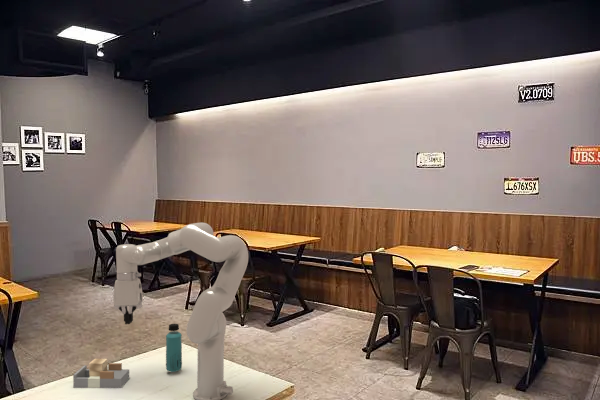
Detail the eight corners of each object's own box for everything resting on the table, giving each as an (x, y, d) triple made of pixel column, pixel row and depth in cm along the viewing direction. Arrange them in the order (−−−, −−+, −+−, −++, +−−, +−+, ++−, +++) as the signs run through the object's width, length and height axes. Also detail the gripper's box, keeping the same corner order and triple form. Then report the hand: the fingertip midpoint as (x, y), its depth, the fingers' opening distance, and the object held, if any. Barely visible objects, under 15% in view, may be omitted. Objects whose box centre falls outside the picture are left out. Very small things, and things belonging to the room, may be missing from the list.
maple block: (107, 371, 183) (107, 358, 183) (102, 376, 178) (102, 363, 178) (95, 371, 183) (94, 358, 183) (89, 376, 178) (89, 363, 178)
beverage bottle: (177, 376, 188) (177, 327, 187) (162, 374, 189) (162, 326, 189) (184, 369, 194) (184, 322, 194) (170, 368, 196) (170, 321, 195)
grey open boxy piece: (129, 378, 186) (129, 363, 185) (120, 387, 177) (120, 372, 176) (84, 377, 185) (84, 363, 185) (73, 387, 176) (73, 372, 176)
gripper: (149, 274, 184) (150, 320, 184) (111, 275, 183) (112, 321, 184) (143, 277, 176) (144, 325, 177) (103, 278, 176) (105, 326, 176)
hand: (128, 323), depth 180 cm, fingers closed
